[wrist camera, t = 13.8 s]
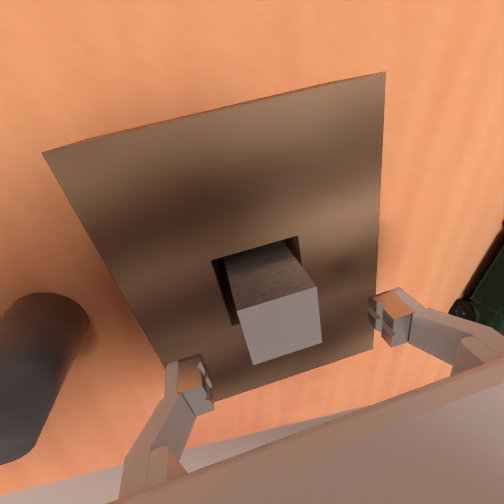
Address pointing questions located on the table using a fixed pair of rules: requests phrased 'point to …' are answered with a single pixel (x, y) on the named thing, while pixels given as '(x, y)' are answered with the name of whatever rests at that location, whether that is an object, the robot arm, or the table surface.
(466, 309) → the miniature car
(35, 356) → the round bit
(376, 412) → the robot arm
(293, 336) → the square bit
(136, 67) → the table surface
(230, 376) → the bore block
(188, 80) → the table surface
